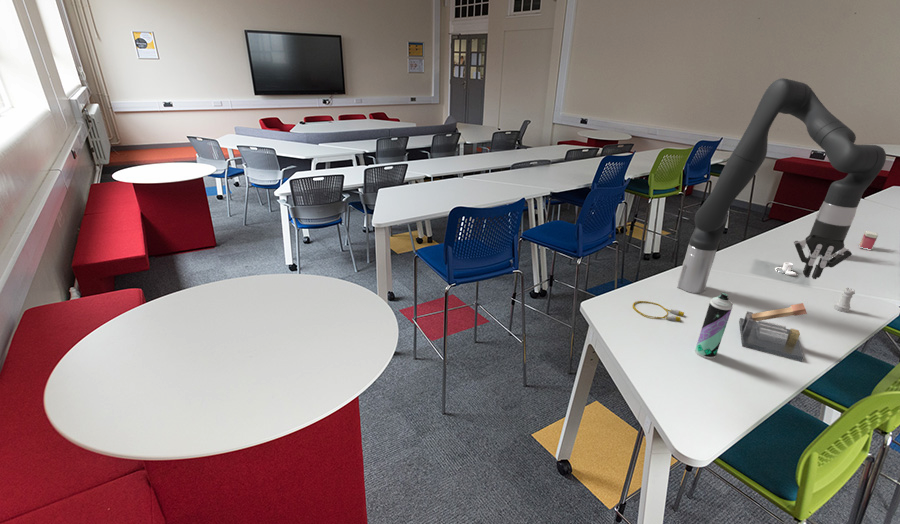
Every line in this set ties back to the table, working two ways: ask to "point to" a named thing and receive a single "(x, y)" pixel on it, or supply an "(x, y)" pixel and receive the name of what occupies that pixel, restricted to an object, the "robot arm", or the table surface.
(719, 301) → the spray can
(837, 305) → the rook chess piece
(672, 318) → the extension cord
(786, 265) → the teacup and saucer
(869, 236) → the small box
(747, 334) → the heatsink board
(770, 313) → the lever
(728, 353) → the table surface
